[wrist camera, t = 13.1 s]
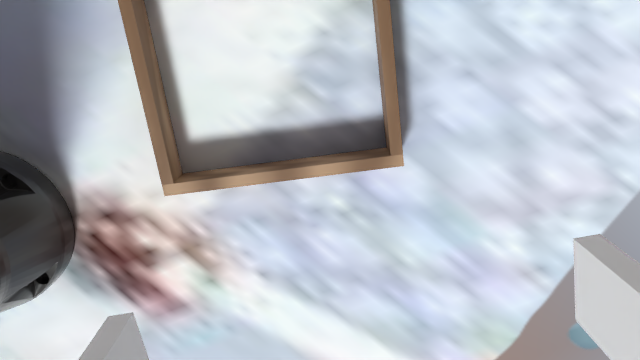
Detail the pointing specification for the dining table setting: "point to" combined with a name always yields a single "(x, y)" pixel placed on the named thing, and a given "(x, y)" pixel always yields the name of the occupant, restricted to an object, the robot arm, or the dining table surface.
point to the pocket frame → (264, 172)
